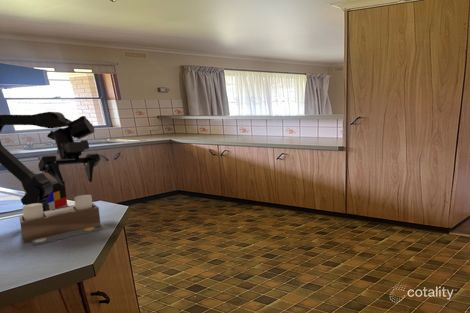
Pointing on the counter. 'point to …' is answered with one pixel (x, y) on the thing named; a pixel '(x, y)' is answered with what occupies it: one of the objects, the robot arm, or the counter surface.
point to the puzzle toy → (57, 196)
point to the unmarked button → (33, 211)
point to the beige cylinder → (83, 202)
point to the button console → (59, 222)
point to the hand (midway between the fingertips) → (77, 183)
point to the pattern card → (63, 235)
